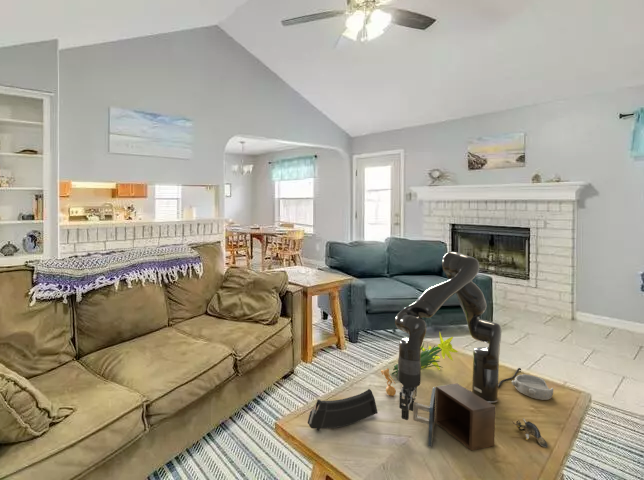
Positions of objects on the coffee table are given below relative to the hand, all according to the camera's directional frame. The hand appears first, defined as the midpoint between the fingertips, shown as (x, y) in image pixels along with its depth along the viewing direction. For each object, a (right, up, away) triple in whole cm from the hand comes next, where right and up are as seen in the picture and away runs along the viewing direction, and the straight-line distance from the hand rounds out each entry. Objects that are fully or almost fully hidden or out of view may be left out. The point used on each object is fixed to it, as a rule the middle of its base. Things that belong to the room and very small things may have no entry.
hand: (407, 414), depth 135 cm
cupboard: (+21, -8, +2) cm, 23 cm away
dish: (+70, -8, +31) cm, 77 cm away
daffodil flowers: (+29, -7, +46) cm, 55 cm away
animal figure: (+44, -9, -1) cm, 45 cm away
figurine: (+4, -7, +26) cm, 28 cm away
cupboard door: (+7, -8, +3) cm, 11 cm away
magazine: (-21, -8, +7) cm, 24 cm away
